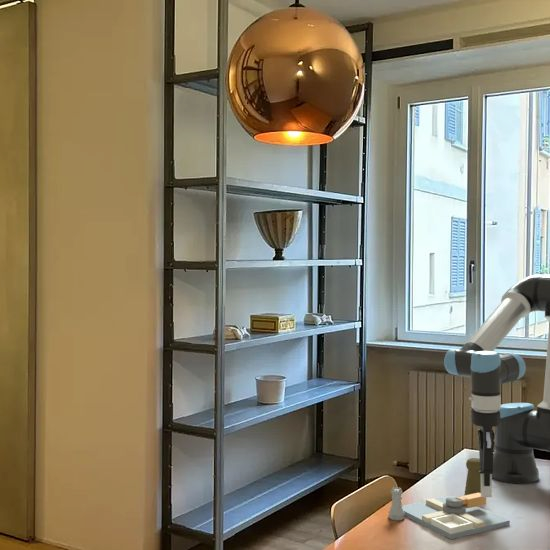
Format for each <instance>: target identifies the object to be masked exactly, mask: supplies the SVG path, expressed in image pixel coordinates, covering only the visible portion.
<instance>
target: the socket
mask: <svg viewBox="0 0 550 550" xmlns="http://www.w3.org/2000/svg"><path fill="white" fill-rule="evenodd" d="M431 524H432V525H434V526H436V527H438V528H440V529H442V530H444V531H446V532H448V533H450V534H453V533H458V532H462V531H466V530H470V529H473V523H472V522H470V521H468V520H466V519H464V518H462V517H459V516H457V515H455V514H449V515H444V516H440V517H435V518H431Z"/></svg>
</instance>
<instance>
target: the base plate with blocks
mask: <svg viewBox="0 0 550 550" xmlns="http://www.w3.org/2000/svg"><path fill="white" fill-rule="evenodd" d="M448 497H455V496H454V495H447V496H443V497H438V498H433V497H432V498H428V499H427V498H426V500H424V501H418V502H414V503H409V504H404V505H402V508H403V511H404V513H405V514H404V516H405V518H408V519H411V520H412V521H414V522H417V523H418V524H419V525H422V526H424V527H427V528H428V529H430V530H432V531H434V532H436V533H438V534H440V535H442V536H444V537H446V538H448V539H450V540H454V539H458V538H462V537H467V536H470V535H474V534H478V533H479V534H480V533H482V532H486V531H487V532H488V531H491V530H495V529H500V528H503V527H506V526H510V520H509V519H507V518H505V517H504V516H500V515H498V514H496V513H494V512H492V511H489V510H487V509H484V508H482V507H481V506H476V507H471V508H466V506H465V505H464V504H463V506H462V507H459V508H453V507H449V506H447V505H446V498H448ZM449 514H455V515H457V516H459V517H462V518H464V519H466V520H468V521H470V522H472V523H473V529H470V530H466V531H462V532H458V533H453V534H450V533H448V532H446V531H444V530H442V529H440V528H438V527H436V526H434V525H432V524H431V518H435V517H440V516H444V515H449Z"/></svg>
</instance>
